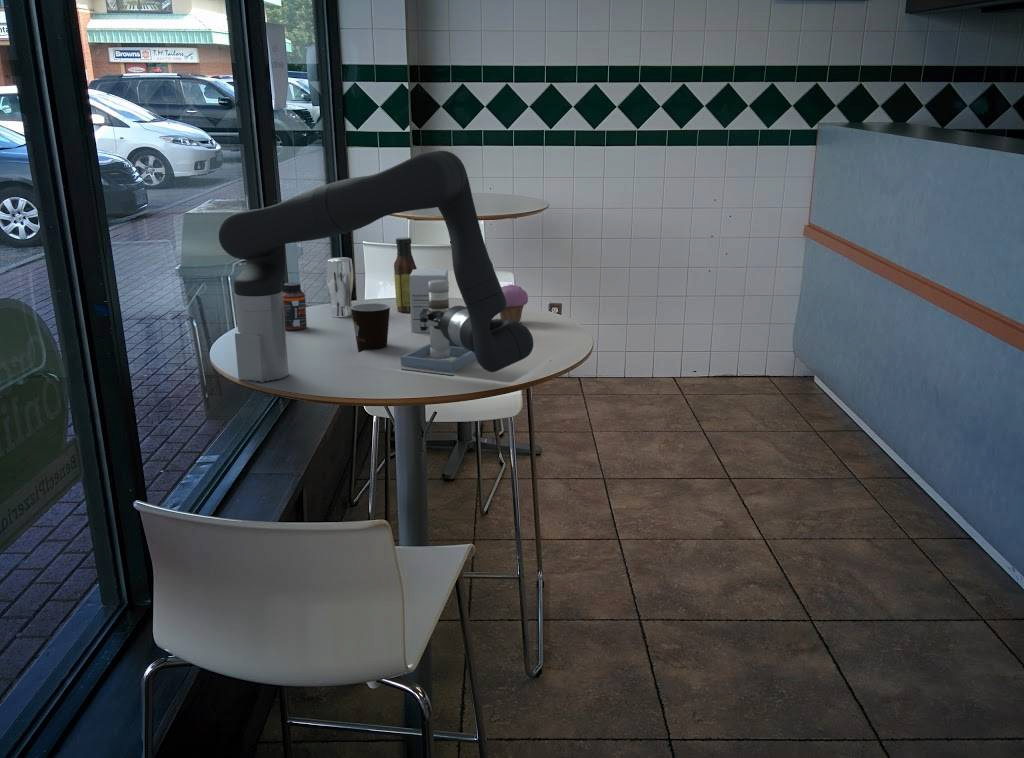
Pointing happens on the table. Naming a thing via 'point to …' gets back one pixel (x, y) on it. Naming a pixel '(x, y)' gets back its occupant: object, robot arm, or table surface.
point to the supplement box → (422, 293)
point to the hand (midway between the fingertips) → (434, 312)
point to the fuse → (438, 303)
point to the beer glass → (340, 285)
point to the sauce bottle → (403, 273)
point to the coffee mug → (371, 325)
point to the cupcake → (513, 302)
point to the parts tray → (417, 361)
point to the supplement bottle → (294, 307)
